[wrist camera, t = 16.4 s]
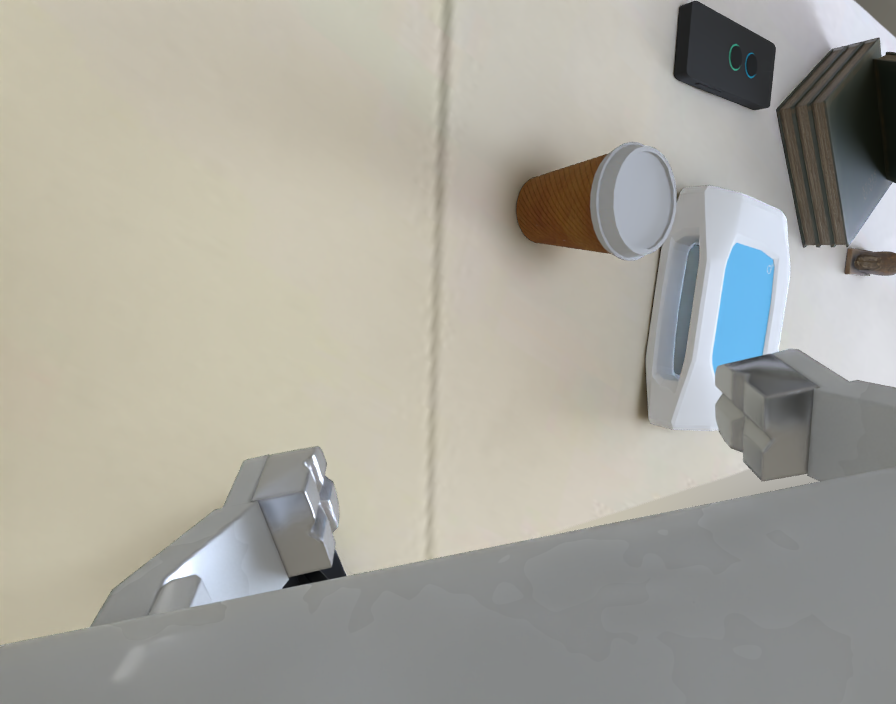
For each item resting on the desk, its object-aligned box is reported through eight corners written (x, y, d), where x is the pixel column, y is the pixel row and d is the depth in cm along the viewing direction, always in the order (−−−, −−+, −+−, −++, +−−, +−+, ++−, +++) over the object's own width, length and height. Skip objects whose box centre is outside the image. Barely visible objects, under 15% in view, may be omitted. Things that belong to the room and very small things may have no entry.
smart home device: (770, 110, 78) (687, 76, 66) (757, 112, 79) (673, 79, 67) (777, 43, 76) (694, -4, 64) (764, 47, 78) (679, 1, 66)
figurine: (876, 252, 112) (933, 252, 105) (872, 276, 112) (929, 278, 105) (847, 248, 103) (907, 248, 96) (844, 274, 104) (903, 275, 97)
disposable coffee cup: (487, 218, 53) (592, 210, 44) (533, 137, 55) (643, 113, 46) (544, 279, 59) (649, 283, 49) (584, 203, 61) (692, 193, 51)
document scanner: (635, 420, 71) (682, 433, 66) (668, 187, 69) (719, 182, 64) (722, 416, 84) (767, 426, 79) (752, 219, 82) (800, 217, 77)
